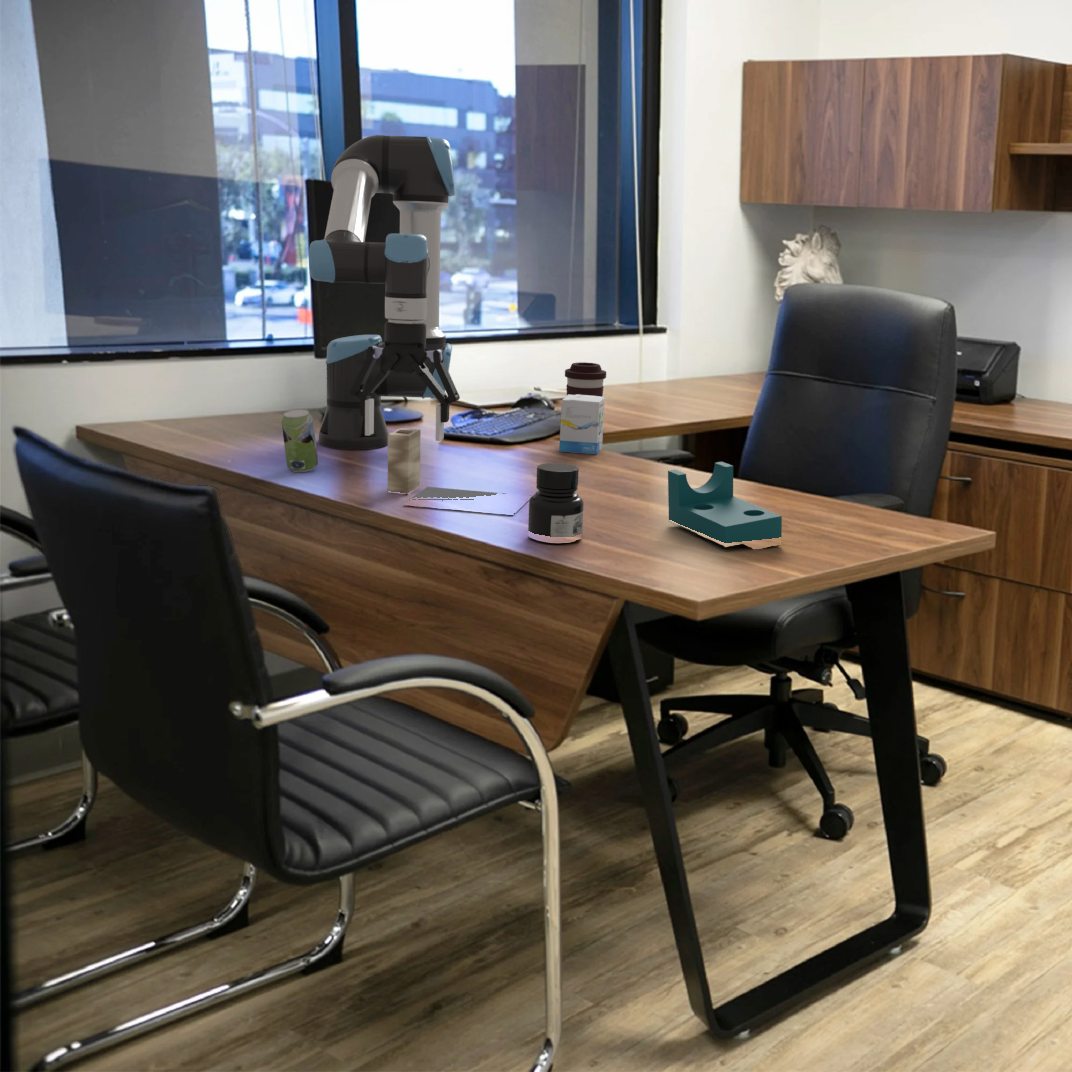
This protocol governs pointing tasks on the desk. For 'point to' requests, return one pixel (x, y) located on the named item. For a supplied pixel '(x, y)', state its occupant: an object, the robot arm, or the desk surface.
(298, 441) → the beverage can
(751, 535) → the teal l-shaped bracket
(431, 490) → the felt pad
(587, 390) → the coffee cup
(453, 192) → the robot arm
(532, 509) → the ink bottle
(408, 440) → the birch block
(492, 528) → the desk surface
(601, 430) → the ink box
